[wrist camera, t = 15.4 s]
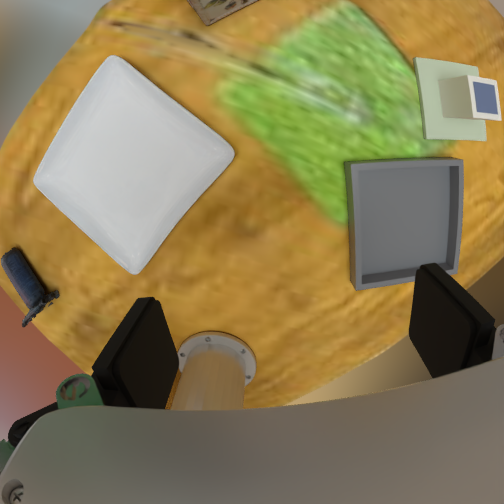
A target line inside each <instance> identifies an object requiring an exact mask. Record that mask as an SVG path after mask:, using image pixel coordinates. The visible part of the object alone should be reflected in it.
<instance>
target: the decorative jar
mask: <svg viewBox="0 0 504 504" xmlns="http://www.w3.org/2000/svg"><path fill="white" fill-rule="evenodd" d="M187 1H188V2H189V4H190V5H191V6H192V7H193V9H194V10H195V11H196V13H197V14H198V15H199V17H200V18H201V19H202V21H203V22H204V23H205V24H206V25H210V24H212V23H214V22H216V21H218V20H219V19H222V18H224V17H226V16H228V15H230V14H232V13H233V12H235V11H237V10H239V9H241V8H243V7H245V6H247V5H250V4H252V3H254V2H256V1H258V0H187Z"/></svg>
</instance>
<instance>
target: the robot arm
mask: <svg viewBox="0 0 504 504" xmlns="http://www.w3.org/2000/svg"><path fill="white" fill-rule="evenodd" d="M494 322H495V319H494V318H493V317H492V316H491V315H490V314H489V313H488V312H487V311H486V310H485V309H484V308H483V307H482V306H481V305H480V304H479V303H478V302H477V301H476V300H475V299H474V298H473V297H472V296H471V295H470V294H469V293H468V292H467V291H466V290H465V289H464V288H463V287H462V286H461V285H460V284H459V283H457V282H456V281H455V280H454V279H453V278H452V277H451V276H450V275H449V274H448V273H447V272H446V271H444V270H443V269H442V268H441V267H440V266H439V265H438V264H437V263H429V264H423V265H421V266H420V268H419V269H417V270H416V274H415V285H414V295H413V303H412V311H411V319H410V326H409V337H410V339H411V341H412V343H413V345H414V346H415V348H416V350H417V351H418V353H419V355H420V357H421V358H422V360H423V362H424V364H425V365H426V367H427V369H428V370H429V372H430V374H431V376H432V378H433V379H429V380H425V381H421V382H418V383H414V384H410V385H406V386H402V387H397V388H393V389H389V390H384V391H379V392H374V393H369V394H364V395H359V396H353V397H348V398H342V399H335V400H329V401H322V402H314V403H306V404H298V405H288V406H278V407H266V408H250V409H243V401H244V389H245V386H246V385H247V384H249V383H250V382H251V380H252V379H253V377H254V375H255V372H256V359H255V356H254V354H253V352H252V350H251V349H250V348H249V346H247V345H246V344H245V343H244V342H243V341H241V340H240V339H238V338H236V337H234V336H232V335H229V334H225V333H221V332H202V333H198V334H195V335H193V336H191V337H189V338H188V339H186V340H185V341H184V342H183V343H182V345H181V347H180V348H179V351H178V354H177V351H176V349H175V346H174V343H173V340H172V337H171V334H170V331H169V328H168V325H167V322H166V319H165V316H164V313H163V310H162V307H161V304H160V302H159V301H158V300H155V298H153V297H145V298H138V299H137V300H136V302H135V303H134V304H133V306H132V307H131V309H130V310H129V312H128V313H127V315H126V316H125V317H124V319H123V320H122V322H121V323H120V325H119V326H118V328H117V329H116V331H115V332H114V334H113V335H112V337H111V338H110V340H109V341H108V343H107V344H106V346H105V347H104V349H103V350H102V352H101V353H100V355H99V357H98V358H97V360H96V361H95V363H94V364H93V366H92V369H93V371H94V372H93V374H92V375H91V376H90V375H88V374H76V375H73V376H70V377H68V378H66V379H65V380H64V381H63V382H62V383H61V384H60V385H59V386H58V388H57V391H56V399H57V402H55V403H53V404H51V405H49V406H47V407H44V408H42V409H40V410H38V411H36V412H34V413H32V414H30V415H27V416H25V417H23V418H21V419H19V420H17V421H15V422H14V424H13V425H12V427H11V428H10V430H9V433H8V439H9V441H7V442H6V440H5V439H3V440H2V441H0V504H504V324H503V325H501V326H499V327H498V328H497V329H496V328H495V327H494ZM178 367H179V370H180V372H181V373H182V374H181V377H180V380H179V384H178V387H177V390H176V393H175V396H174V399H173V403H172V406H171V409H170V410H169V409H165V406H166V403H167V400H168V397H169V394H170V391H171V388H172V385H173V382H174V379H175V376H176V373H177V370H178Z"/></svg>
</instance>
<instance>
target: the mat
mask: <svg viewBox="0 0 504 504" xmlns="http://www.w3.org/2000/svg"><path fill="white" fill-rule="evenodd" d="M413 62H414V67H415V73H416V78H417V85H418V91H419V98H420V106H421V114H422V124H423V134H424V139H452V140H476V141H486V126H485V120H475V119H459V118H443V114H442V106H441V98H440V91H439V85H438V81H441V80H445V79H450V78H455V77H460V76H465V75H470V76H476V77H479V72H478V67H475V66H470V65H465V64H460V63H454V62H448V61H441V60H434V59H426V58H417V57H415V58H413Z"/></svg>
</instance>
